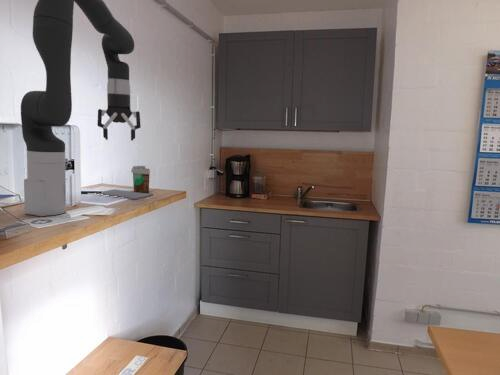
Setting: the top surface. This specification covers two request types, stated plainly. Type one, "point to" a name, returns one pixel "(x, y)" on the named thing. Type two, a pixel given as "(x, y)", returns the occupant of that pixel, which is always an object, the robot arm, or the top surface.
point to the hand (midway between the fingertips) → (119, 139)
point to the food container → (141, 179)
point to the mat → (125, 194)
